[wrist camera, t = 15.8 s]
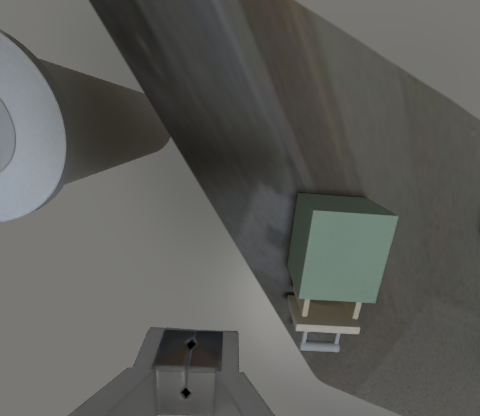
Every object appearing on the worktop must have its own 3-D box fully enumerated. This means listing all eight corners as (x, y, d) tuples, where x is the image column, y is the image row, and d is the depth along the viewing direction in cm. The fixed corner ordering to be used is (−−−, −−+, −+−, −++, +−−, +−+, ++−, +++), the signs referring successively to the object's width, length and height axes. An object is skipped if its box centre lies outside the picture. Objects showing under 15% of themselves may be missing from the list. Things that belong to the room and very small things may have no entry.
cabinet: (349, 270, 44) (375, 303, 36) (286, 266, 43) (298, 299, 35) (366, 197, 40) (398, 216, 32) (297, 192, 40) (313, 210, 32)
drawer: (335, 328, 46) (352, 361, 40) (283, 325, 46) (290, 358, 39) (355, 241, 41) (377, 263, 35) (296, 238, 41) (307, 259, 35)
